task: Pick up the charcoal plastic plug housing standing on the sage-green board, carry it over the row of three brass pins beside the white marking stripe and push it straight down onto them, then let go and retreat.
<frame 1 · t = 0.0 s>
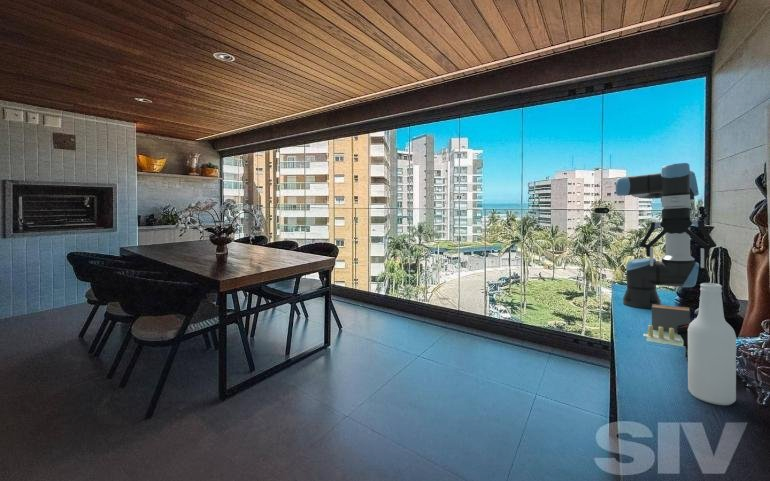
hand: (676, 266, 116), 28 cm above the table, tool pointing down, fingers open, 13 cm apart
magazine: (705, 364, 101), on the table
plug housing: (670, 330, 126), point 1 cm above the table, touching header board
header board: (668, 338, 121), on the table
alcohol: (711, 397, 84), on the table
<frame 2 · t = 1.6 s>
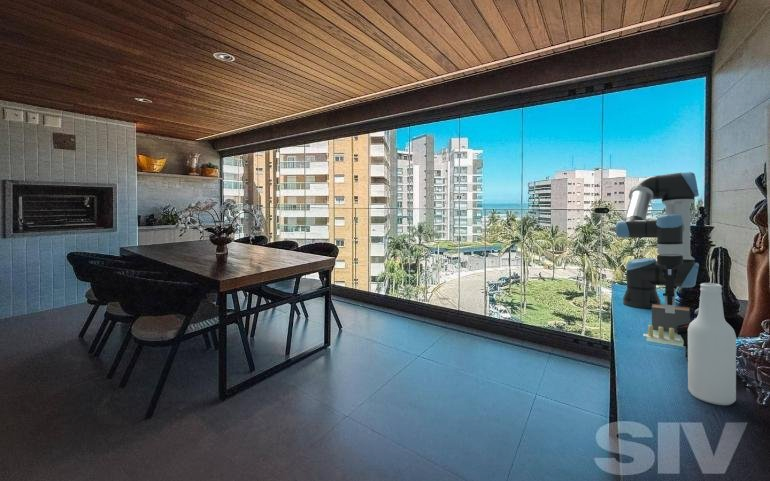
hand: (670, 308, 125), 10 cm above the table, tool pointing down, fingers open, 13 cm apart
nothing on the table moved.
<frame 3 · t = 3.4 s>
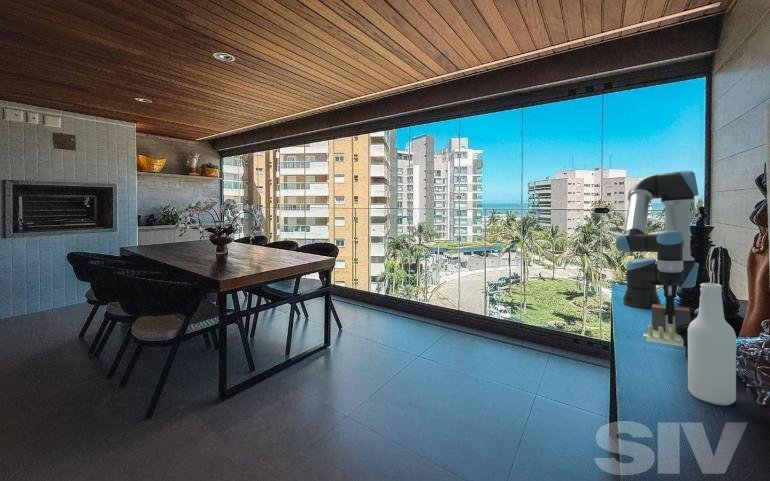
hand: (670, 329, 126), 2 cm above the table, tool pointing down, fingers closed on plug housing, 5 cm apart
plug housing: (670, 329, 126), point 1 cm above the table, touching gripper, header board
everything else where it was.
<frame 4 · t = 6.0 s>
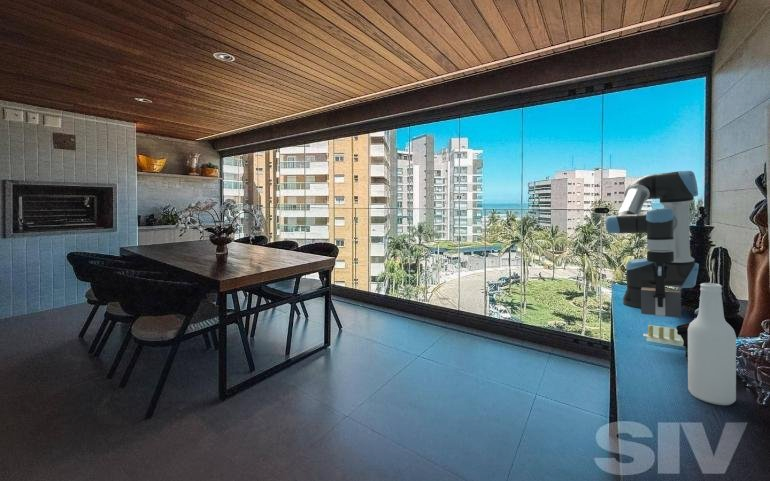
hand: (660, 313, 119), 11 cm above the table, tool pointing down, fingers closed on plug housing, 5 cm apart
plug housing: (660, 314, 119), point 10 cm above the table, touching gripper
everything else where it was.
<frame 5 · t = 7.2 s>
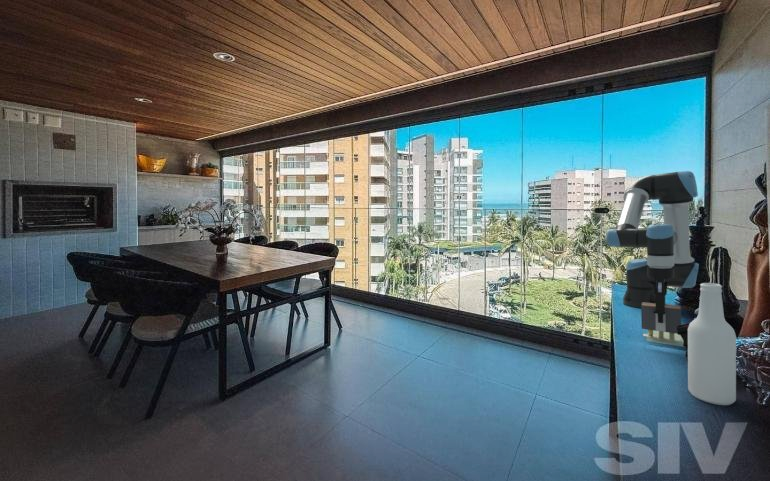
hand: (660, 328, 119), 5 cm above the table, tool pointing down, fingers closed on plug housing, 5 cm apart
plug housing: (660, 329, 119), point 4 cm above the table, touching gripper
everything else where it was.
when the fingers open (2 cm above the table, at t = 8.5 s): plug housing stays where it is, resting on header board.
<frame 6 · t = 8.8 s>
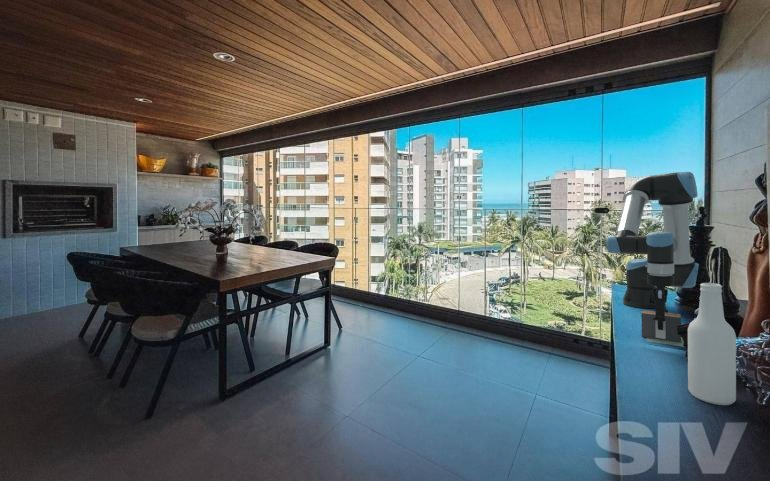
hand: (661, 333, 120), 3 cm above the table, tool pointing down, fingers open, 9 cm apart
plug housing: (661, 337, 120), point 1 cm above the table, touching header board
everything else where it was.
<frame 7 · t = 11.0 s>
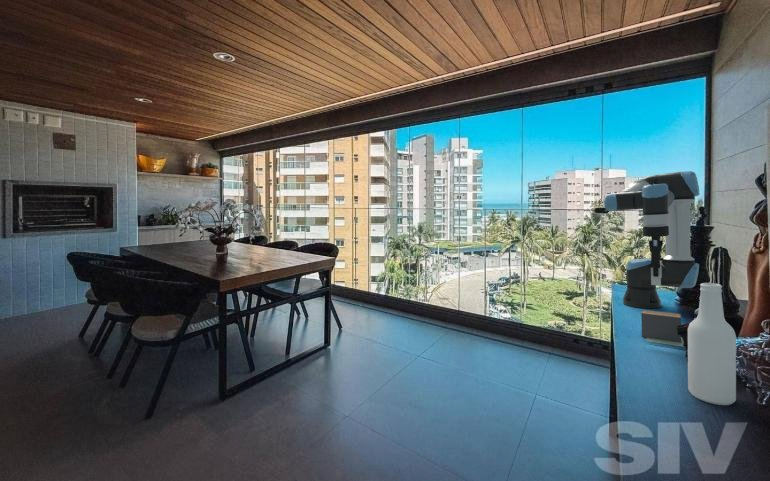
hand: (656, 281, 123), 22 cm above the table, tool pointing down, fingers open, 13 cm apart
nothing on the table moved.
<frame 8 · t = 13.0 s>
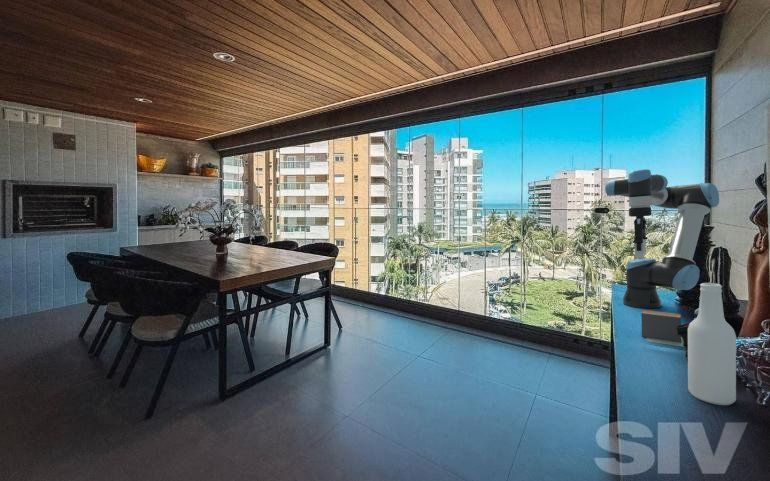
hand: (640, 256, 138), 29 cm above the table, tool pointing down, fingers open, 13 cm apart
nothing on the table moved.
at the end: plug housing 0.0 cm from the target spot, point 1.3 cm above the table; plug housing tilted 0°; the gripper is holding nothing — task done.
